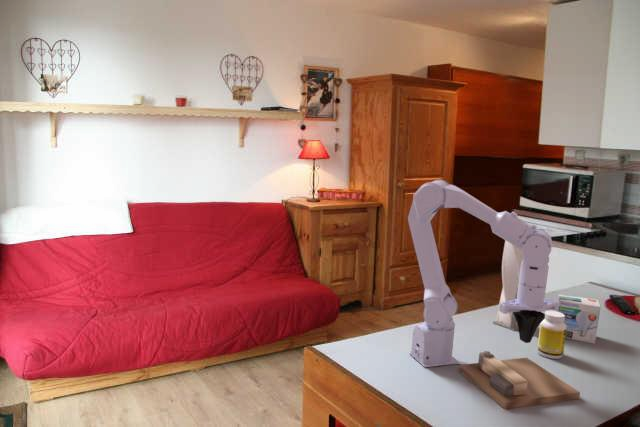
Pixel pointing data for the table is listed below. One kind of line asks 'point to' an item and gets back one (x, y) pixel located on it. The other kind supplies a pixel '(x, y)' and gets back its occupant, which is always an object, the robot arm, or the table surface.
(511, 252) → the skyscraper
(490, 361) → the folding leg
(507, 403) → the stool seat
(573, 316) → the light bulb box
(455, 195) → the robot arm
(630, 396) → the table surface
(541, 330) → the pill bottle
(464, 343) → the table surface
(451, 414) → the table surface
